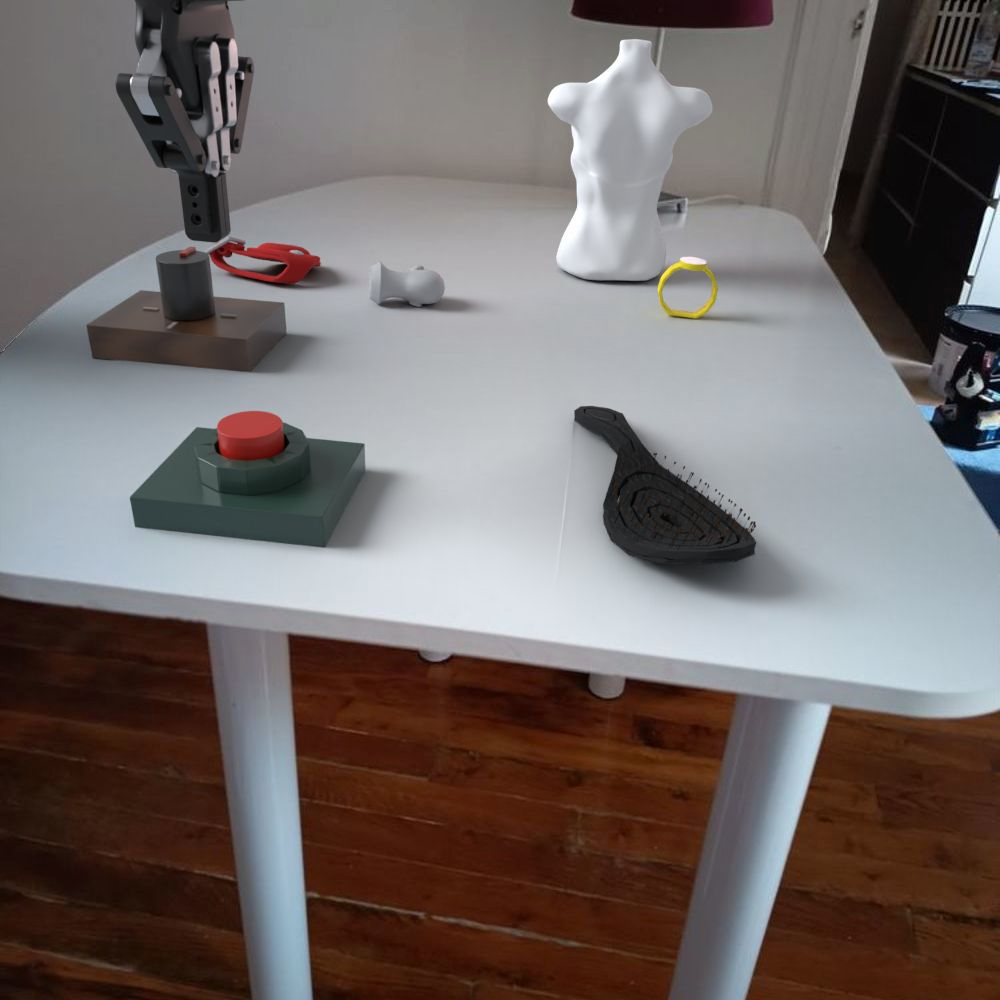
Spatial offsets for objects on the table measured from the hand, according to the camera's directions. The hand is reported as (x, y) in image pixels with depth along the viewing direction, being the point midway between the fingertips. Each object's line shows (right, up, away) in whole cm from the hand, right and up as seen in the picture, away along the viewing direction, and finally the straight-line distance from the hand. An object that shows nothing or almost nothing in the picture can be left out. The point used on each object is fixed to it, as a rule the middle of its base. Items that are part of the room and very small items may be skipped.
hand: (208, 238), depth 54 cm
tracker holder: (-9, +10, +49) cm, 50 cm away
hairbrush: (+27, -15, +9) cm, 32 cm away
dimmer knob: (-10, +1, +27) cm, 29 cm away
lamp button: (+2, -12, +4) cm, 13 cm away
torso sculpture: (+30, +11, +55) cm, 64 cm away
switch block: (+1, -15, +6) cm, 16 cm away
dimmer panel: (-11, -1, +29) cm, 31 cm away
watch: (+37, +4, +42) cm, 56 cm away
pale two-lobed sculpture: (+7, +5, +42) cm, 43 cm away
